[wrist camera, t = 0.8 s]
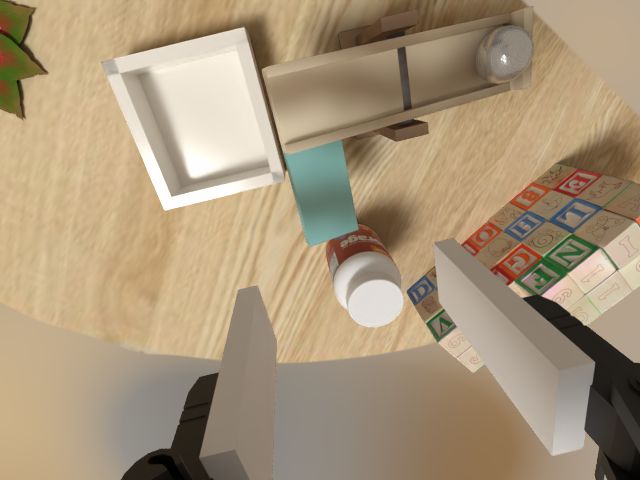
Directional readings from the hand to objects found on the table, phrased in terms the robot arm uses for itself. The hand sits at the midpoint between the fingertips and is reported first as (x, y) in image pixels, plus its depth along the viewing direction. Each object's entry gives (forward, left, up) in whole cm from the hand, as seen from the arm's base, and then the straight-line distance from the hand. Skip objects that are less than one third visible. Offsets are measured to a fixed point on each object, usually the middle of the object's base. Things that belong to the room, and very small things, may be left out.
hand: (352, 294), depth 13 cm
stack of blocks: (+14, +18, -23) cm, 33 cm away
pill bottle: (+10, +2, -23) cm, 25 cm away
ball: (-6, +15, -15) cm, 22 cm away
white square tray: (-6, -8, -23) cm, 25 cm away
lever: (-3, +7, -16) cm, 18 cm away
